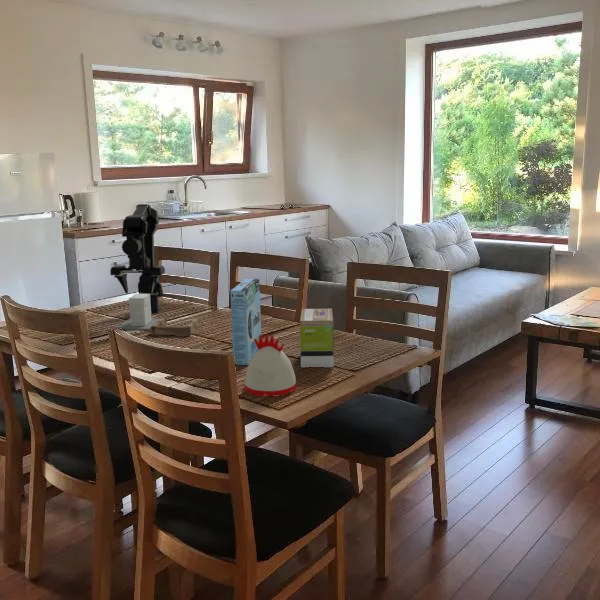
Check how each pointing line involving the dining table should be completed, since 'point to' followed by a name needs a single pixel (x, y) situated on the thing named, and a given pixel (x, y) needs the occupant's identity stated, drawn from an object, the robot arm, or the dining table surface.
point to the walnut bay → (174, 328)
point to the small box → (140, 309)
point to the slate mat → (127, 326)
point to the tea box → (317, 338)
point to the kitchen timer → (269, 370)
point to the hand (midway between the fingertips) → (139, 293)
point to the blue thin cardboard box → (245, 320)
